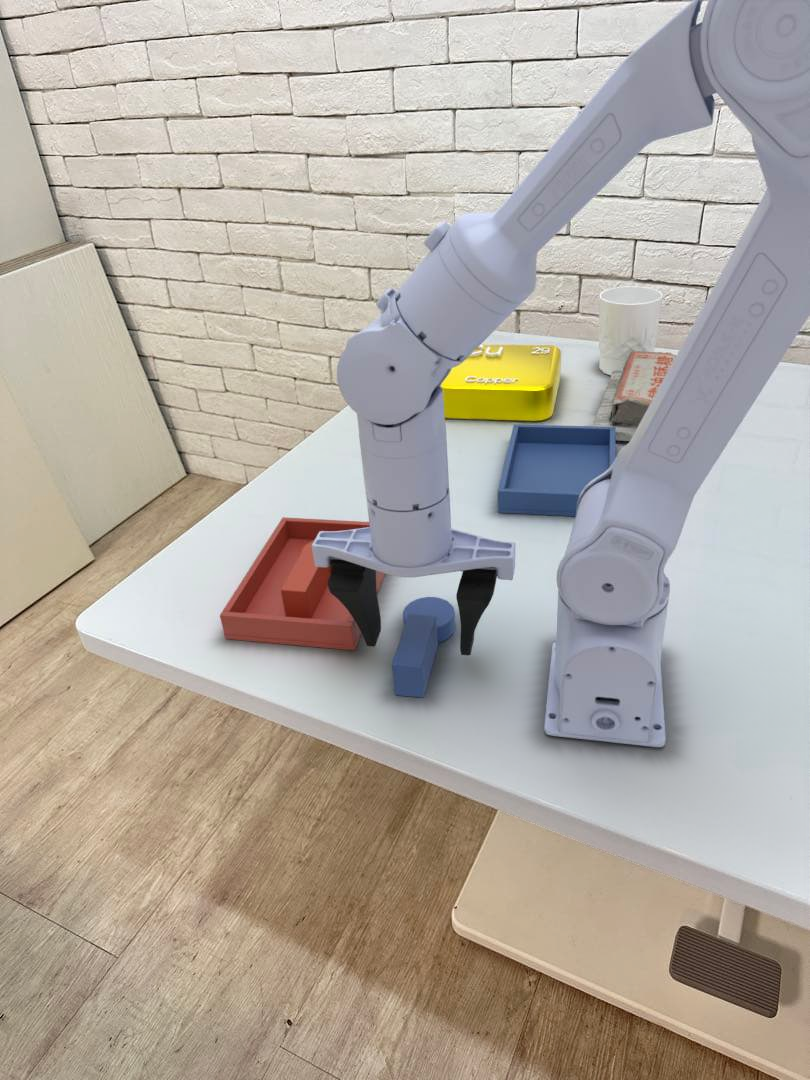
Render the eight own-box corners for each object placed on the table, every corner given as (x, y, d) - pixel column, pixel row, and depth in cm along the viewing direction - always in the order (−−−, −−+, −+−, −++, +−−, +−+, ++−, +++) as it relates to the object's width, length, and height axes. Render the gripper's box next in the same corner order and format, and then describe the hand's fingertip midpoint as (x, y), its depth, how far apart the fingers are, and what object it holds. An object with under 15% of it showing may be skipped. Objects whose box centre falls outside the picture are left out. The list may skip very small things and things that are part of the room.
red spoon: (321, 621, 66) (317, 592, 65) (274, 617, 67) (268, 588, 66) (354, 553, 74) (350, 526, 73) (311, 550, 75) (307, 523, 74)
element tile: (429, 418, 99) (427, 382, 96) (452, 373, 111) (450, 339, 108) (551, 423, 95) (552, 385, 93) (561, 375, 108) (562, 340, 105)
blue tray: (613, 518, 77) (615, 496, 76) (497, 512, 79) (497, 491, 78) (613, 447, 89) (615, 426, 88) (513, 443, 92) (513, 424, 90)
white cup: (663, 362, 109) (670, 288, 103) (644, 383, 103) (651, 306, 98) (607, 355, 112) (611, 283, 107) (586, 374, 107) (590, 300, 102)
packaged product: (614, 345, 102) (696, 349, 99) (611, 381, 105) (691, 386, 101) (591, 401, 88) (686, 408, 85) (589, 441, 91) (681, 449, 88)
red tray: (354, 650, 64) (351, 626, 62) (225, 639, 66) (219, 615, 65) (397, 545, 76) (395, 523, 75) (286, 538, 78) (282, 517, 77)
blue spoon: (437, 699, 58) (434, 669, 57) (381, 693, 59) (378, 663, 58) (459, 613, 67) (457, 584, 65) (410, 609, 68) (407, 581, 66)
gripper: (520, 466, 56) (519, 617, 63) (323, 459, 59) (344, 603, 67) (509, 519, 50) (509, 678, 58) (292, 508, 53) (319, 660, 61)
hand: (420, 642), depth 62 cm, fingers open, 7 cm apart
